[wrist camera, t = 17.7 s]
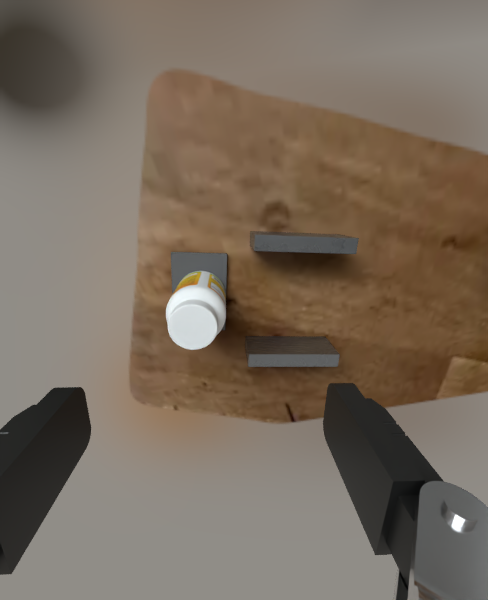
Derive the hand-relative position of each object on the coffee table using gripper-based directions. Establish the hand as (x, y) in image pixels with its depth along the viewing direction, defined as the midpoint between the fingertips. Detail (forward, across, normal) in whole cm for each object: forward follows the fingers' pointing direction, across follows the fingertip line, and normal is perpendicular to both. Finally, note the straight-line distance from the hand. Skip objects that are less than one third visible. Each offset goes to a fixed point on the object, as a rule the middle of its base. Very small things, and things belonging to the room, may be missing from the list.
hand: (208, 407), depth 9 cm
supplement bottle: (+23, +2, +3) cm, 23 cm away
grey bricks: (+23, -8, +3) cm, 25 cm away
